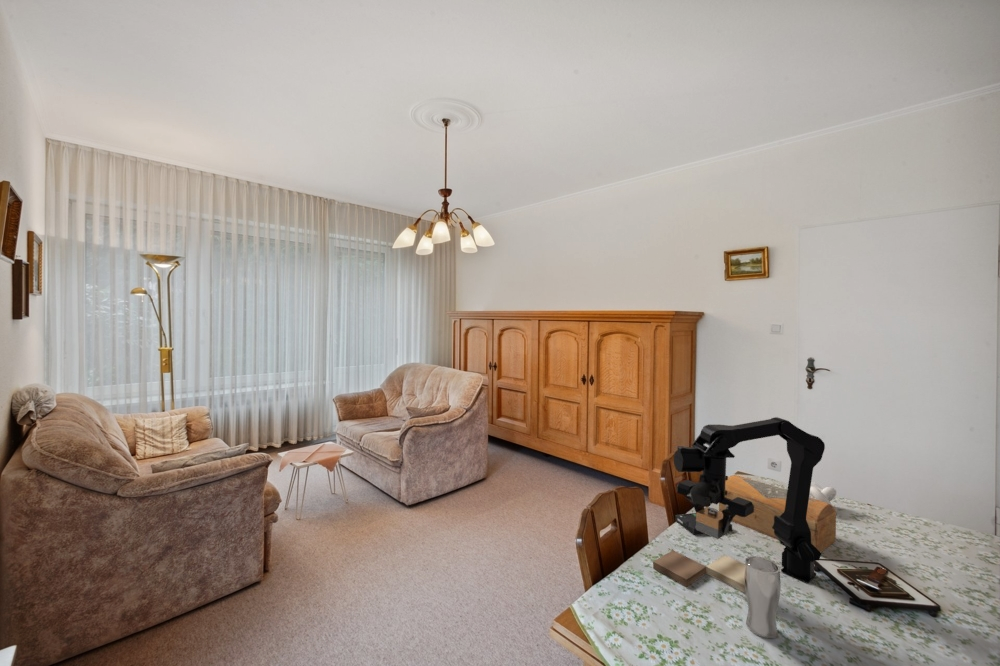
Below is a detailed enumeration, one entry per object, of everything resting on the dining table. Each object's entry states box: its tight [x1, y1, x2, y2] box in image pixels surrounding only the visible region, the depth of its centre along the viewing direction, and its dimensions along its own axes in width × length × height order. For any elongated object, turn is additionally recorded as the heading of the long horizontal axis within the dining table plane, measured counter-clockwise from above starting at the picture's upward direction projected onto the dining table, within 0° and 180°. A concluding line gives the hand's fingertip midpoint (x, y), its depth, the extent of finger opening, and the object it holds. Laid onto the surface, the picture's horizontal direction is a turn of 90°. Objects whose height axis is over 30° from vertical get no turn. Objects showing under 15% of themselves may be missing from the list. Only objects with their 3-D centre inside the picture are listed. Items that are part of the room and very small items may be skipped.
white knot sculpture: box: [809, 481, 837, 505], centre depth 153 cm, size 11×12×9 cm
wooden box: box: [718, 474, 837, 553], centre depth 138 cm, size 30×16×14 cm, turn 31°
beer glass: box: [744, 555, 782, 640], centre depth 92 cm, size 7×7×15 cm
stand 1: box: [652, 549, 707, 588], centre depth 114 cm, size 10×10×2 cm
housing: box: [696, 506, 730, 540], centre depth 112 cm, size 6×6×6 cm
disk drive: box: [674, 512, 733, 536], centre depth 140 cm, size 10×3×15 cm
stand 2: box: [705, 554, 746, 594], centre depth 112 cm, size 10×10×2 cm
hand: (712, 527), depth 112 cm, fingers closed on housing, 6 cm apart
